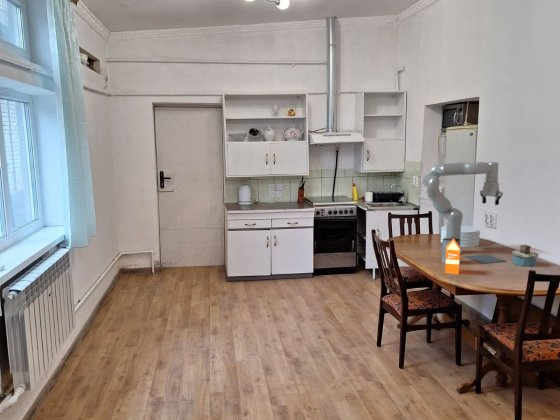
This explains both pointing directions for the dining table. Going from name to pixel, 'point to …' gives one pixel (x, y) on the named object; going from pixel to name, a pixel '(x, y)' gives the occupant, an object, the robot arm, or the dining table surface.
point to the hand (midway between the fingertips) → (490, 204)
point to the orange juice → (452, 258)
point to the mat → (485, 259)
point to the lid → (525, 252)
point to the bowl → (524, 261)
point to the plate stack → (465, 236)
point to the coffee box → (446, 243)
